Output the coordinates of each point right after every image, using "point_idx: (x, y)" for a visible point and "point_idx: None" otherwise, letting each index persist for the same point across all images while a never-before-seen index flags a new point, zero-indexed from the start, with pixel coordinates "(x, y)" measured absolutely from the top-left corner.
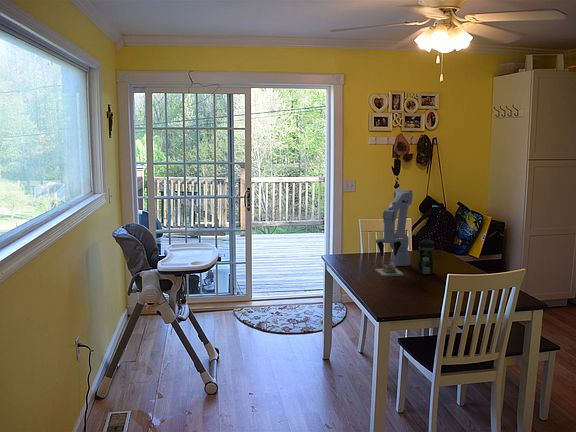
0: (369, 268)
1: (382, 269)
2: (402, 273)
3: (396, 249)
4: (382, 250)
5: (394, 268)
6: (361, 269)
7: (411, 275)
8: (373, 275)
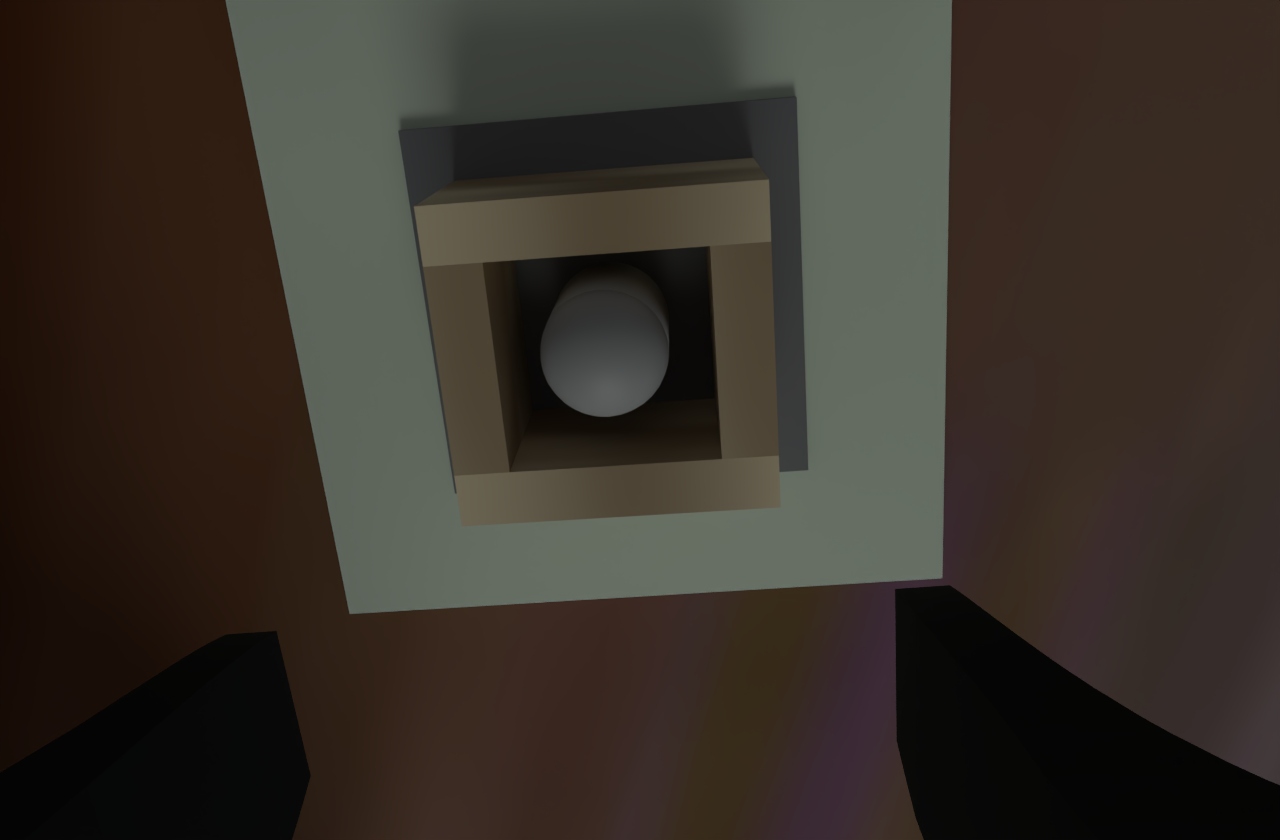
0: None
1: (757, 516)
2: (255, 37)
3: (49, 802)
4: (1069, 721)
5: (465, 195)
6: (1249, 689)
7: (3, 10)
8: (1167, 65)
